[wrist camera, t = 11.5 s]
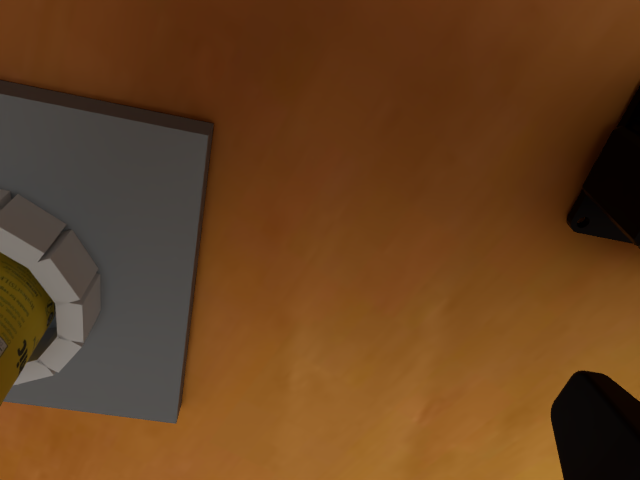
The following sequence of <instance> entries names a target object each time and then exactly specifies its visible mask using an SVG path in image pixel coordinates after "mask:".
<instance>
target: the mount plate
mask: <svg viewBox="0 0 640 480" xmlns="http://www.w3.org/2000/svg"><path fill="white" fill-rule="evenodd" d="M213 126H214V124H213V123H208V122H203V121H198V120H193V119H188V118H183V117H178V116H173V115H169V114H164V113H159V112H154V111H149V110H144V109H139V108H134V107H129V106H125V105H120V104H115V103H110V102H105V101H100V100H95V99H90V98H85V97H80V96H76V95H71V94H66V93H61V92H56V91H51V90H46V89H41V88H36V87H32V86H27V85H22V84H17V83H12V82H7V81H2V80H0V252H1V253H2V254H4V255H6V256H8V257H9V258H11V259H13V260H15V261H16V262H18V263H20V264H22V265H23V266H25V267H27V268H28V269H29V270H30V271H31V273H32V274H33V275H34V277H35V278H36V279H37V280H38V282H39V283H40V284H41V286H42V287H43V288H44V290H45V291H46V292H47V293H48V295H49V296H50V297H51V299H52V300H53V301H54V303H55V308H56V315H55V316H54V318H53V320H52V322H51V323H50V325H49V327H48V328H47V330H46V332H45V333H44V335H43V336H42V338H41V340H40V341H39V343H38V345H37V346H36V348H35V349H34V351H33V353H32V355H31V356H30V358H29V360H28V361H27V363H26V365H25V366H24V368H23V370H22V371H21V373H20V375H19V377H18V378H17V380H16V381H15V383H14V384H13V386H12V388H11V389H10V391H9V392H8V394H7V396H6V397H5V399H4V401H5V402H13V403H20V404H28V405H36V406H44V407H51V408H59V409H67V410H75V411H83V412H90V413H98V414H106V415H114V416H121V417H129V418H137V419H145V420H152V421H160V422H168V423H176V422H177V419H178V415H179V411H180V407H181V402H182V393H183V385H184V376H185V367H186V359H187V350H188V342H189V333H190V324H191V316H192V307H193V299H194V290H195V281H196V273H197V264H198V255H199V247H200V238H201V230H202V221H203V212H204V204H205V195H206V187H207V178H208V169H209V161H210V152H211V143H212V135H213Z"/></svg>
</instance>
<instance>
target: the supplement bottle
mask: <svg viewBox="0 0 640 480" xmlns="http://www.w3.org/2000/svg"><path fill="white" fill-rule="evenodd" d="M55 315H56V308H55V303H54V301H53V300H52V299H51V297H50V296H49V295H48V293H47V292H46V291H45V290H44V288H43V287H42V286H41V284H40V283H39V282H38V280H37V279H36V278H35V277H34V275H33V274H32V273H31V271H30V270H29V269H28V268H27V267H25V266H23V265H22V264H20V263H18V262H16V261H15V260H13V259H11V258H9V257H8V256H6V255H4V254H2V253H1V252H0V406H1V404H2V402H3V401H4V399H5V397H6V396H7V394H8V392H9V391H10V389H11V388H12V386H13V384H14V383H15V381H16V380H17V378H18V377H19V375H20V373H21V371H22V370H23V368H24V366H25V365H26V363H27V361H28V360H29V358H30V356H31V355H32V353H33V351H34V349H35V348H36V346H37V345H38V343H39V341H40V340H41V338H42V336H43V335H44V333H45V332H46V330H47V328H48V327H49V325H50V323H51V322H52V320H53V318H54V316H55Z"/></svg>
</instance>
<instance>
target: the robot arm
mask: <svg viewBox="0 0 640 480" xmlns="http://www.w3.org/2000/svg"><path fill="white" fill-rule="evenodd" d="M583 217H585V219H584V220H583V221H582V222H580V223H577V221H578V220H579V219H580V218H583ZM567 224H568V225H569V226H570V227H571V229H572V230H573V231H575V232H577V233H582V234H587V235H592V236H597V237H602V238H607V239H612V240H617V241H623V242H628V243H633V244H634V245H636V246H638V247H639V248H640V86H639V88H638V90H637V92H636V93H635V95H634V97H633V99H632V101H631V102H630V104H629V106H628V108H627V110H626V111H625V113H624V115H623V117H622V119H621V120H620V122H619V124H618V126H617V128H616V129H615V130H614V131H613V132H612V134H611V135H610V137H609V139H608V141H607V143H606V145H605V146H604V148H603V150H602V152H601V154H600V155H599V157H598V159H597V161H596V163H595V164H594V166H593V168H592V170H591V172H590V174H589V175H588V177H587V179H586V181H585V183H584V184H583V189H582V191H581V193H580V195H579V196H578V198H577V200H576V202H575V204H574V205H573V207H572V209H571V211H570V213H569V214H568V217H567ZM551 422H552V426H553V431H554V436H555V441H556V445H557V450H558V455H559V459H560V464H561V469H562V473H563V478H564V480H640V402H639V401H638V400H637V399H636V398H634V397H633V396H632V395H631V394H629V393H628V392H627V391H626V390H624V389H623V388H622V387H621V386H619V385H618V384H617V383H616V382H614V381H613V380H612V379H611V378H609V377H608V376H606V375H604V374H601V373H596V372H589V371H578V372H576V373H574V374H573V375H572V376H571V378H570V379H569V381H568V382H567V384H566V385H565V386H564V388H563V389H562V391H561V392H560V394H559V395H558V397H557V398H556V399H555V401H554V403H553V405H552V408H551Z"/></svg>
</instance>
